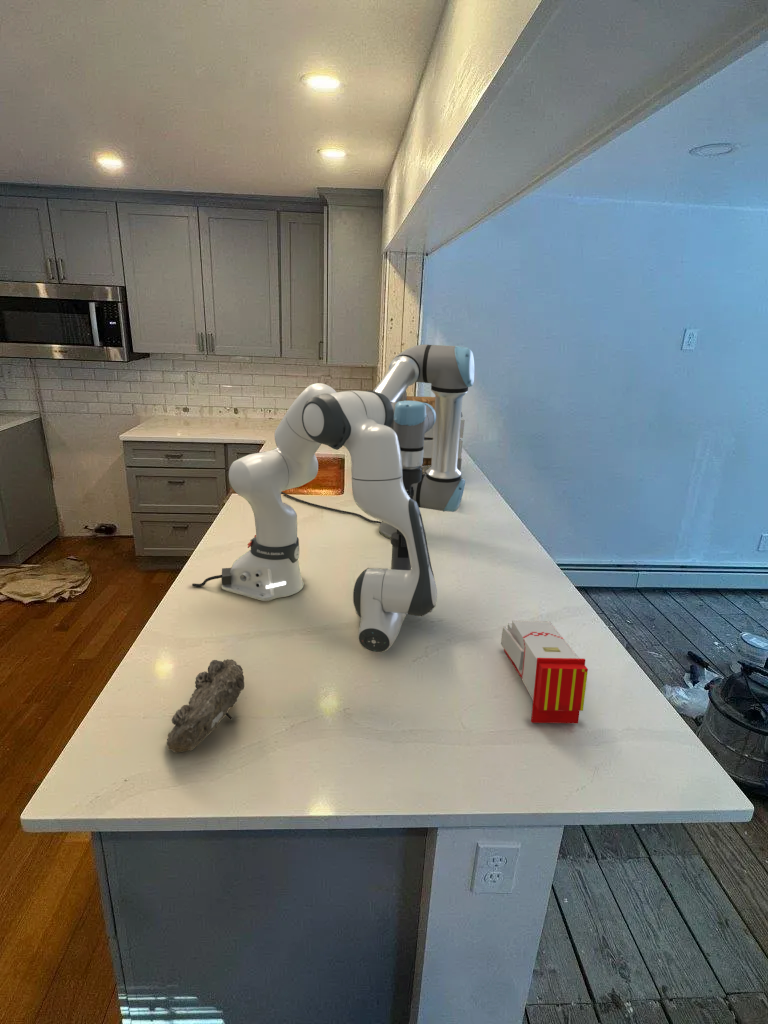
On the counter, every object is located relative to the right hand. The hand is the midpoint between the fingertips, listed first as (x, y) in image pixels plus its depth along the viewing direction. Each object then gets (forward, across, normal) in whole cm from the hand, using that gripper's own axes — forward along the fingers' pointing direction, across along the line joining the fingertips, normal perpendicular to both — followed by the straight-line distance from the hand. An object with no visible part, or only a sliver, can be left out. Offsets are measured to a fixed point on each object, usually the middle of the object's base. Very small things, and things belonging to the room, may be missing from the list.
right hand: (402, 550), depth 147 cm
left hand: (+10, -1, 0) cm, 10 cm away
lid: (-4, 0, 0) cm, 4 cm away
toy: (+16, +32, +28) cm, 46 cm away
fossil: (+16, +46, -38) cm, 61 cm away
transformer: (+16, -130, +16) cm, 132 cm away
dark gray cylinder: (+16, 0, 0) cm, 16 cm away
